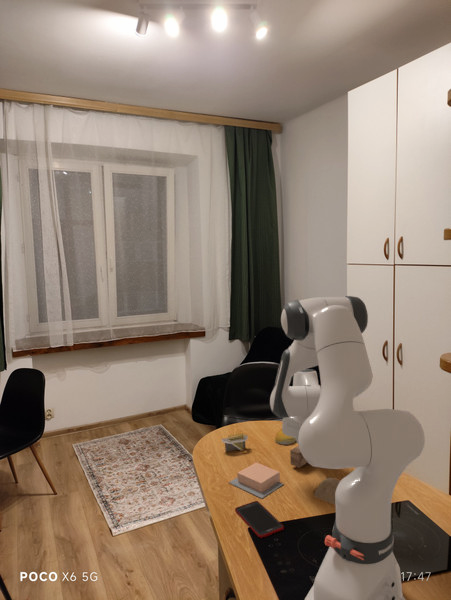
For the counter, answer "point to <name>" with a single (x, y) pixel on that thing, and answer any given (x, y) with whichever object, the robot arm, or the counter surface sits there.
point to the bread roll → (284, 438)
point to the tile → (258, 477)
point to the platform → (235, 442)
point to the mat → (255, 492)
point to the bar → (297, 457)
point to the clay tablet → (327, 490)
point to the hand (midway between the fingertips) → (308, 452)
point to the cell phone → (259, 519)
